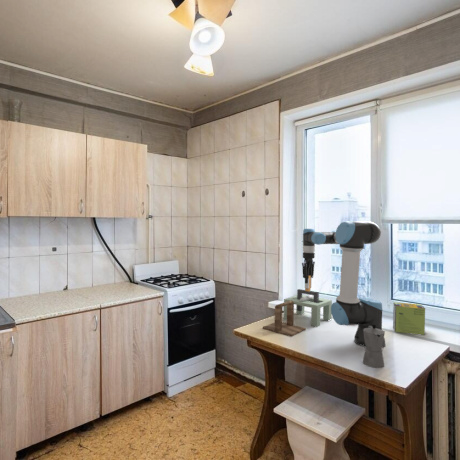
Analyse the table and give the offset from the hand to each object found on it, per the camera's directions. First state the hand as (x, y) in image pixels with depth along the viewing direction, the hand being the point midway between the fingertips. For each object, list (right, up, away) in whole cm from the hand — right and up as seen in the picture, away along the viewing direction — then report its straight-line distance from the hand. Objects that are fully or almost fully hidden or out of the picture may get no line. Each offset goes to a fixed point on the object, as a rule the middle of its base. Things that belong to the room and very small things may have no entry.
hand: (308, 287), depth 217 cm
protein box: (+55, -22, -21) cm, 63 cm away
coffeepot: (+14, -23, -66) cm, 71 cm away
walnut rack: (-19, -21, -20) cm, 35 cm away
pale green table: (0, -21, +1) cm, 21 cm away
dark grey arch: (0, -4, 0) cm, 4 cm away
